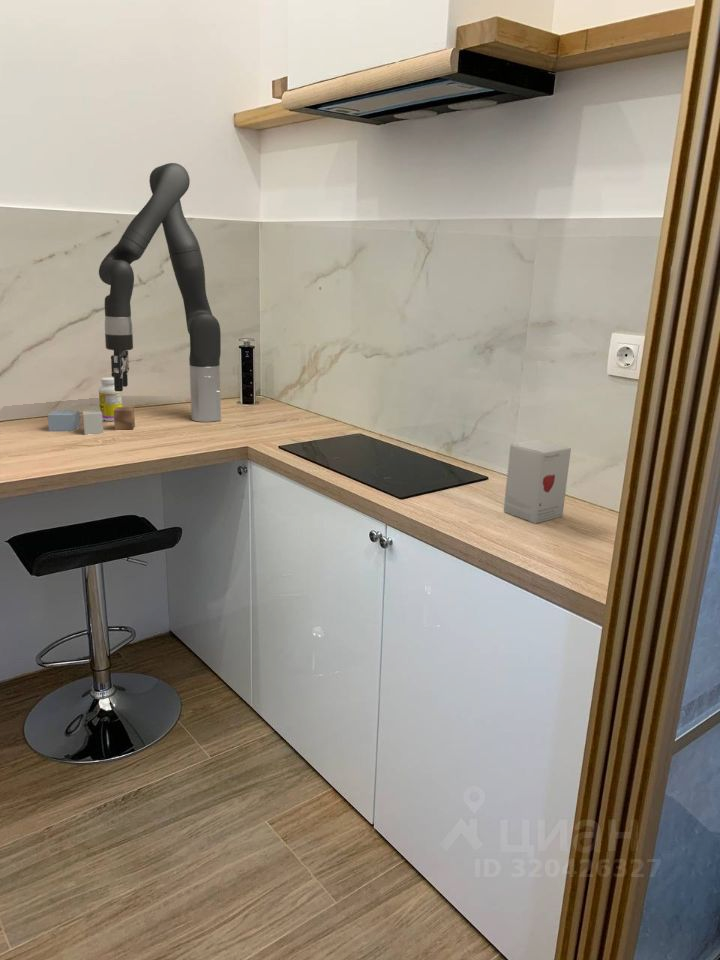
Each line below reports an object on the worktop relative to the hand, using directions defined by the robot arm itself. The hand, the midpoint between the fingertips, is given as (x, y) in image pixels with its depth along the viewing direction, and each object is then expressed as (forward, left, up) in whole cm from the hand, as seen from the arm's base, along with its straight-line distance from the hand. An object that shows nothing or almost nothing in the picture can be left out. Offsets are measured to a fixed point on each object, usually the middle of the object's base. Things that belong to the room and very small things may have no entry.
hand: (121, 388), depth 211 cm
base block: (+17, 0, -12) cm, 21 cm away
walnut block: (0, 0, -12) cm, 12 cm away
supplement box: (-95, +82, -12) cm, 126 cm away
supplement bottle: (+6, -13, -12) cm, 18 cm away
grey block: (+8, +5, -12) cm, 15 cm away
